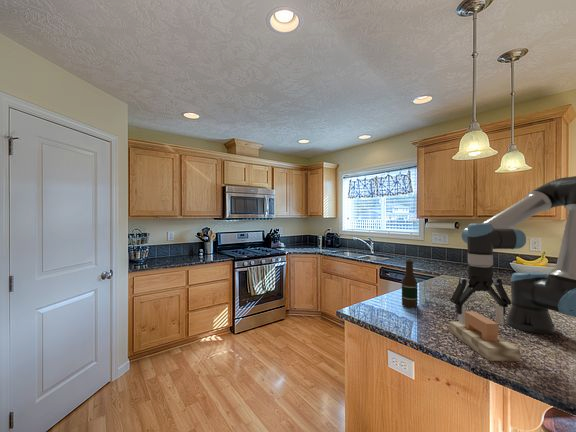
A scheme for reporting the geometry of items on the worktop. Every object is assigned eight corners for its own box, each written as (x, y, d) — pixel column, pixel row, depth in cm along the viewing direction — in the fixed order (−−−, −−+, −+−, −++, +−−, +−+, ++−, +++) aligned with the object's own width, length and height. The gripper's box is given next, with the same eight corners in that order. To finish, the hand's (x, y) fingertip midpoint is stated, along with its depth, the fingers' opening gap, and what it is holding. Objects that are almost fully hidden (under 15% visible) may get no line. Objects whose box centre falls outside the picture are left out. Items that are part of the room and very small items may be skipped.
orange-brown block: (464, 337, 101) (464, 311, 102) (475, 337, 101) (474, 311, 101) (486, 352, 90) (486, 323, 90) (498, 353, 89) (498, 323, 89)
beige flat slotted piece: (474, 331, 106) (474, 321, 106) (520, 361, 84) (519, 348, 84) (449, 331, 107) (449, 321, 107) (488, 360, 85) (488, 348, 85)
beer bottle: (403, 302, 143) (403, 259, 143) (419, 305, 138) (419, 260, 139) (399, 306, 137) (399, 260, 137) (415, 309, 132) (415, 262, 133)
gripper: (506, 263, 99) (507, 319, 99) (439, 263, 100) (440, 318, 100) (523, 267, 91) (524, 327, 91) (451, 267, 93) (451, 326, 92)
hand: (480, 323), depth 96 cm, fingers open, 13 cm apart
